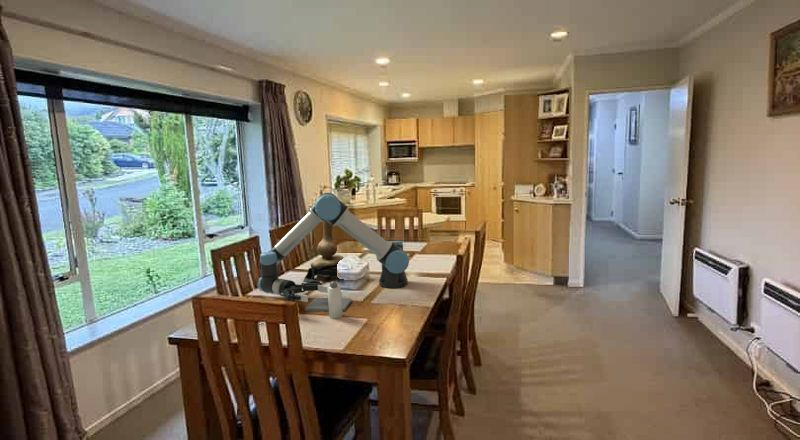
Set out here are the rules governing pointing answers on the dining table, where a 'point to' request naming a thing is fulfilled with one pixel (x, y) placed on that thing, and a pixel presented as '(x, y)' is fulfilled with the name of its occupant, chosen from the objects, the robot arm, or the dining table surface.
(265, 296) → the dining table surface
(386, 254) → the robot arm
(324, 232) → the vase
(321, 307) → the slate board
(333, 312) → the white bottle
